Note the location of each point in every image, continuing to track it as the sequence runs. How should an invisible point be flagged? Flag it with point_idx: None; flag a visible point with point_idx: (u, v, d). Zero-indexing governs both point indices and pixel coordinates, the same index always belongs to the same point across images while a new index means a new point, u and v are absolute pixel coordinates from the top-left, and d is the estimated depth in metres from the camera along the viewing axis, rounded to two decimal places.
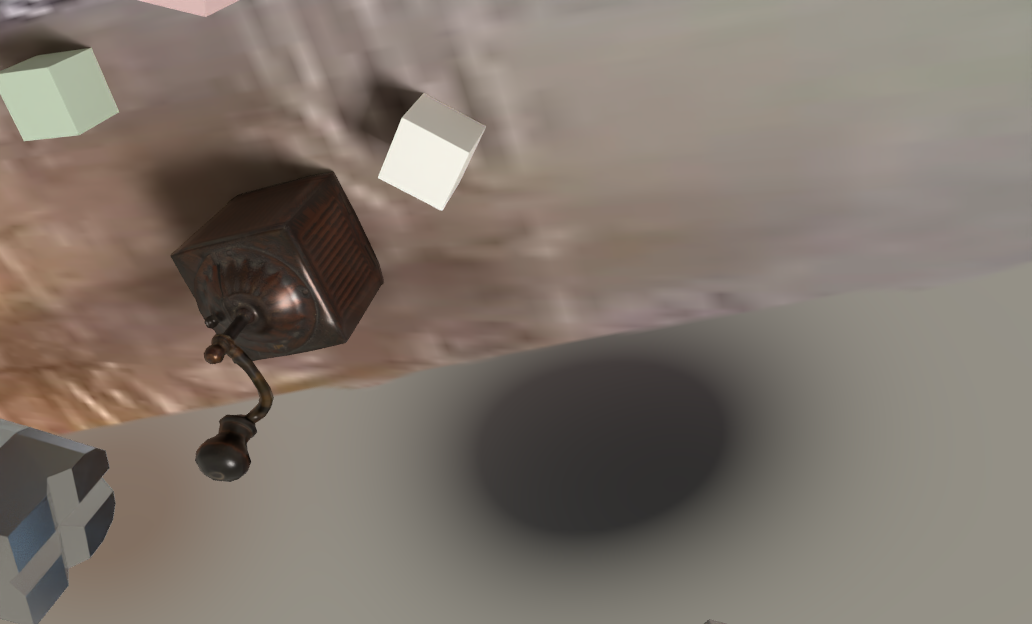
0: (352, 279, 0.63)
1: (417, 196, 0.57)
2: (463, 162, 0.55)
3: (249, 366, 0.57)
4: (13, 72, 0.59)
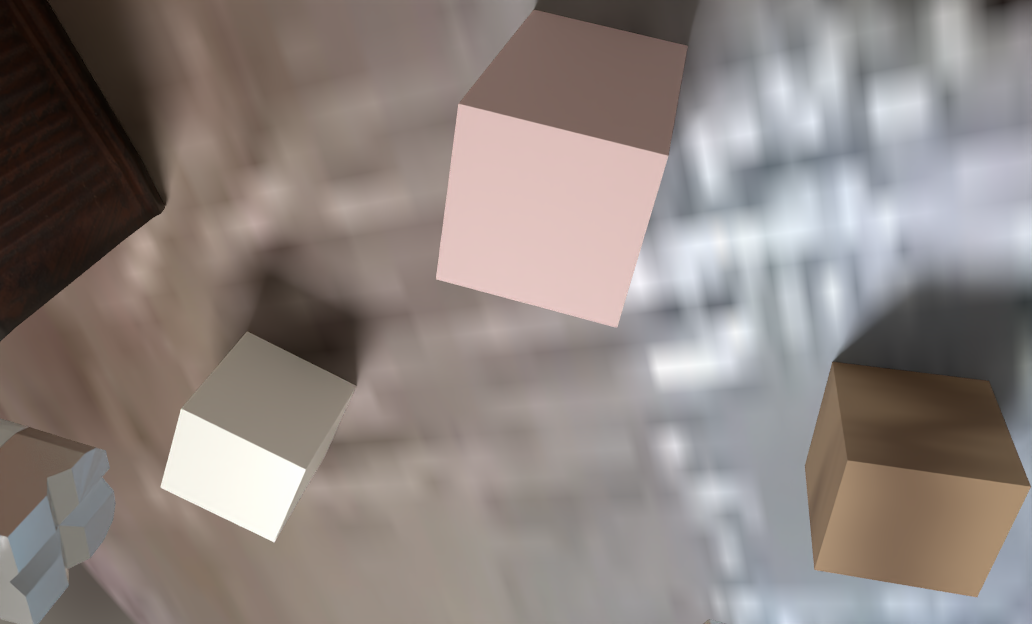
0: None
1: (171, 459, 0.32)
2: (255, 532, 0.33)
3: None
4: None
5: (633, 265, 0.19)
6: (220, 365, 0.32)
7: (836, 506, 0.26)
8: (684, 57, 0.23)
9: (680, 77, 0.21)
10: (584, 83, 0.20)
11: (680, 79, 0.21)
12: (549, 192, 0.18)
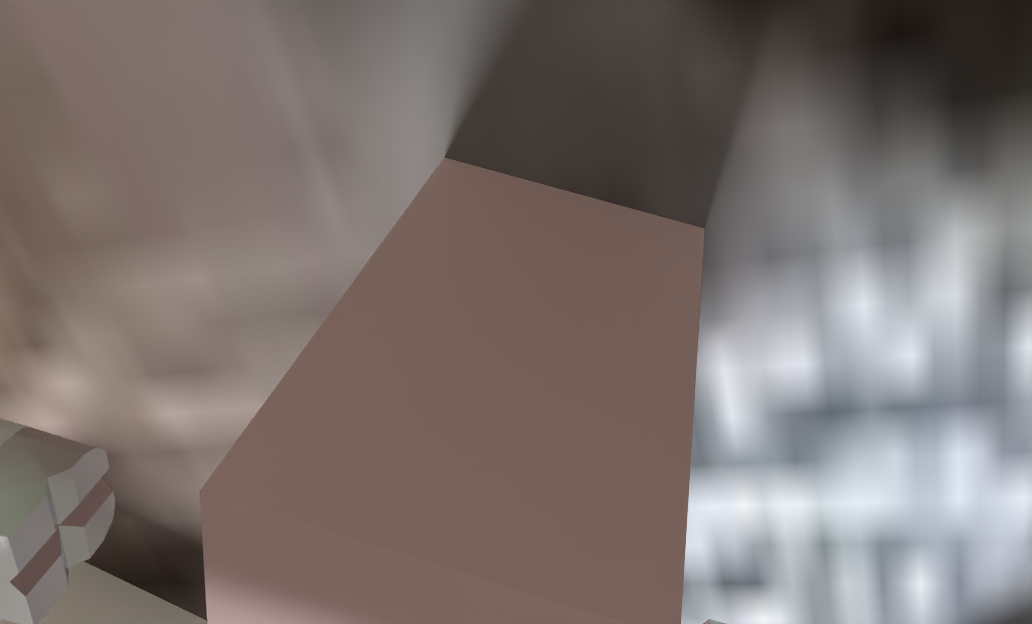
0: None
1: None
2: None
3: None
4: None
5: None
6: None
7: None
8: (700, 261, 0.13)
9: (695, 322, 0.11)
10: (508, 370, 0.10)
11: (696, 328, 0.11)
12: None
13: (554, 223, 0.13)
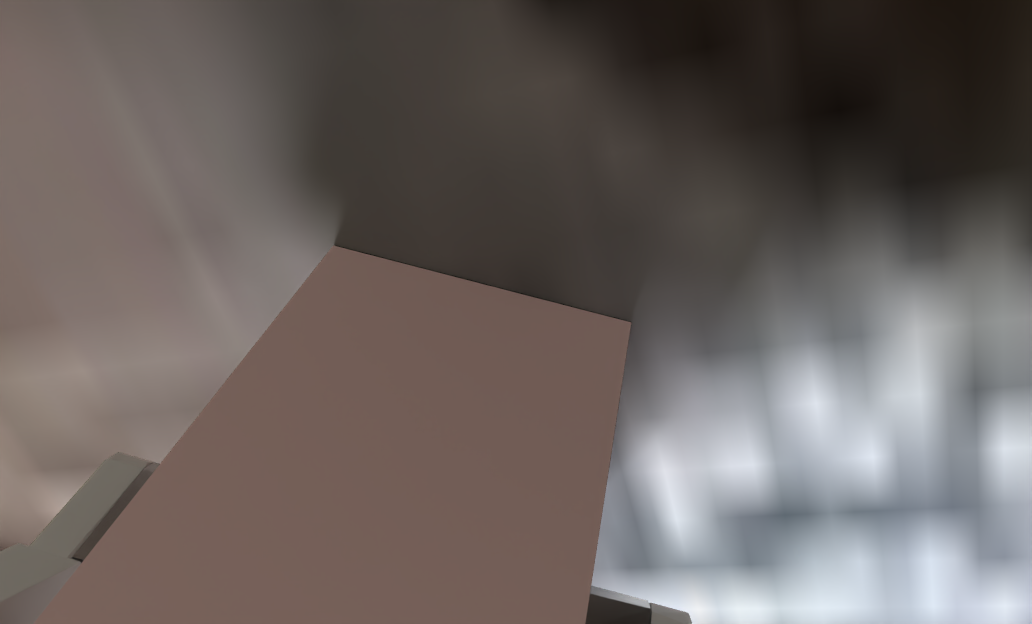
0: None
1: None
2: None
3: None
4: None
5: None
6: None
7: None
8: (621, 369, 0.11)
9: (607, 457, 0.10)
10: (362, 548, 0.08)
11: (606, 467, 0.10)
12: None
13: (452, 327, 0.11)
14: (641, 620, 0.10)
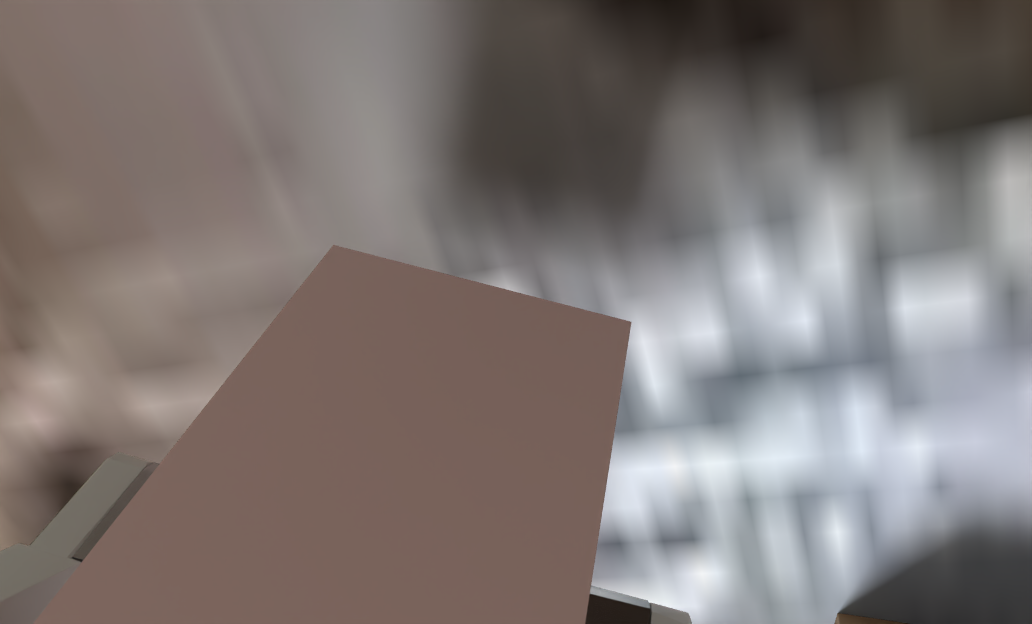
0: None
1: None
2: None
3: None
4: None
5: None
6: None
7: None
8: (621, 368, 0.11)
9: (606, 457, 0.10)
10: (362, 546, 0.08)
11: (606, 466, 0.10)
12: None
13: (451, 327, 0.11)
14: (641, 620, 0.10)
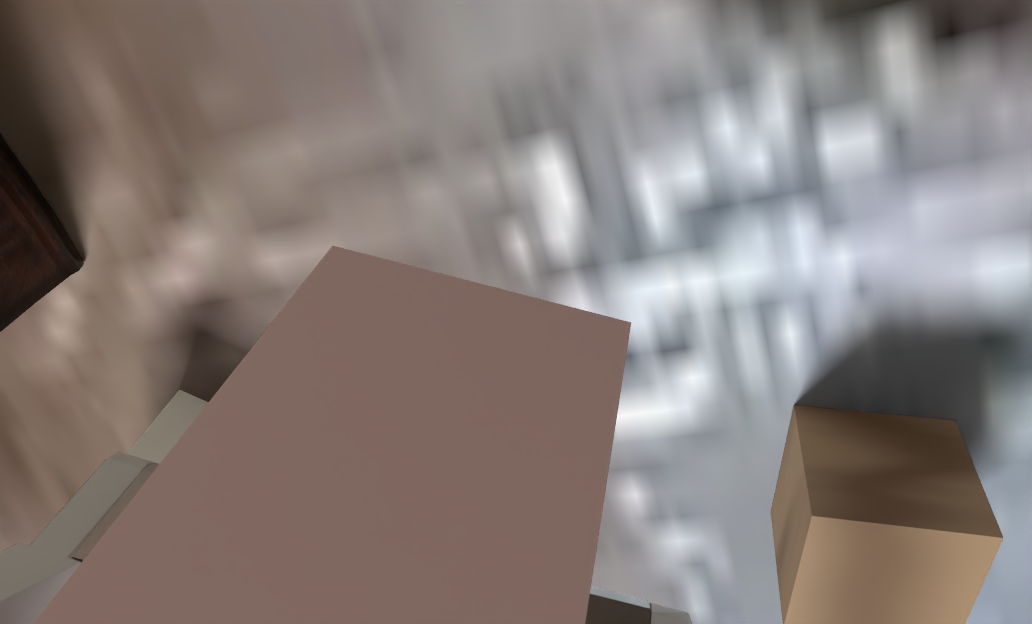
0: None
1: None
2: None
3: None
4: None
5: None
6: (149, 429, 0.30)
7: (802, 562, 0.24)
8: (621, 369, 0.11)
9: (606, 458, 0.10)
10: (361, 548, 0.08)
11: (606, 467, 0.10)
12: None
13: (451, 328, 0.11)
14: (641, 620, 0.10)
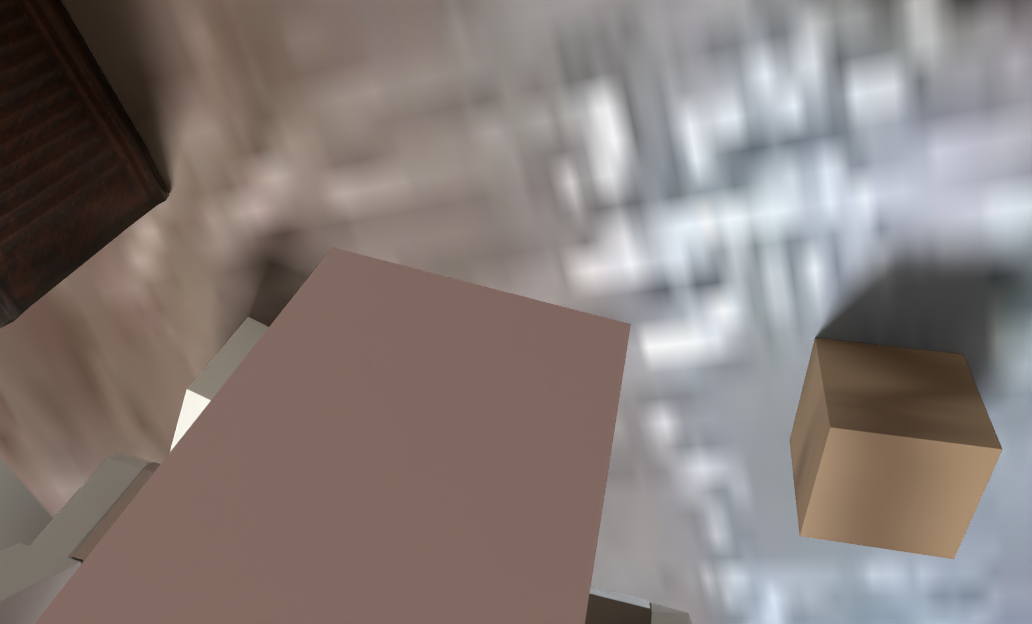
0: None
1: (176, 441, 0.32)
2: None
3: None
4: None
5: None
6: (223, 348, 0.33)
7: (819, 472, 0.27)
8: (620, 371, 0.11)
9: (606, 459, 0.10)
10: (360, 550, 0.08)
11: (605, 469, 0.10)
12: None
13: (450, 330, 0.11)
14: (641, 620, 0.10)
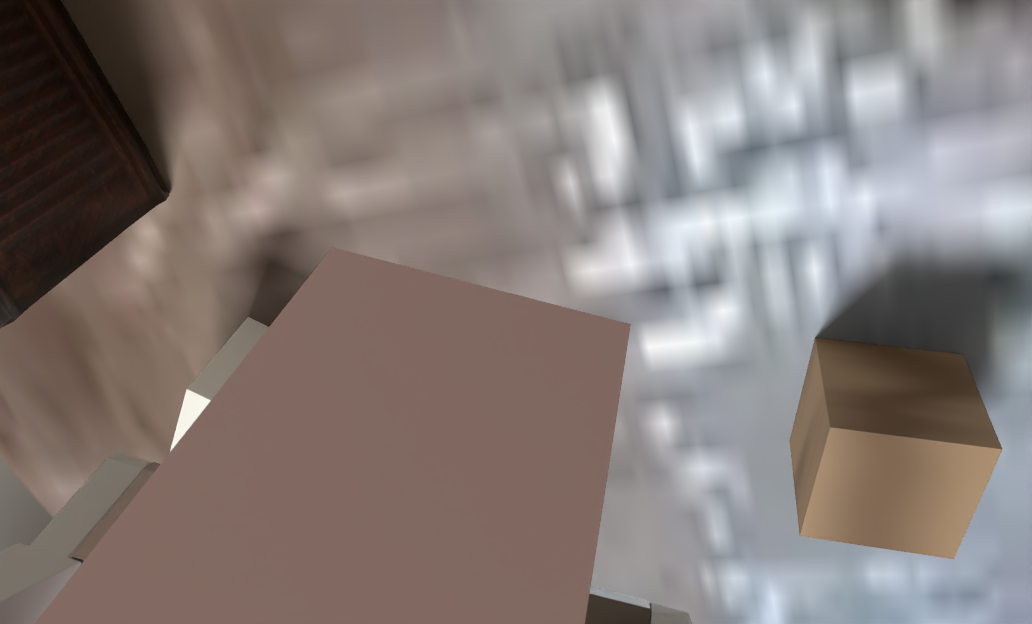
0: None
1: (176, 441, 0.32)
2: None
3: None
4: None
5: None
6: (223, 348, 0.33)
7: (819, 472, 0.27)
8: (620, 371, 0.11)
9: (606, 459, 0.10)
10: (360, 550, 0.08)
11: (605, 469, 0.10)
12: None
13: (450, 330, 0.11)
14: (641, 620, 0.10)
